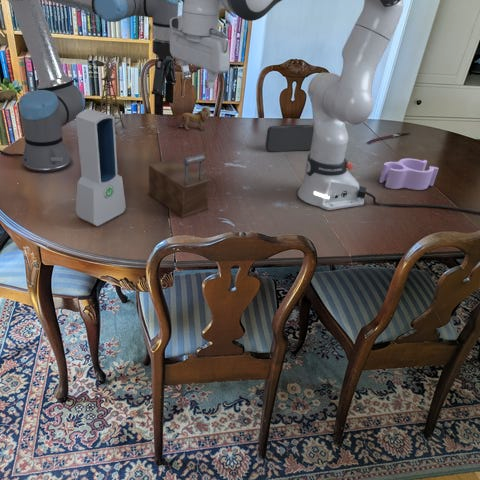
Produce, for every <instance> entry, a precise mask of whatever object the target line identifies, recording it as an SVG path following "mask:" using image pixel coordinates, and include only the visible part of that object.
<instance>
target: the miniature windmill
mask: <svg viewBox="0 0 480 480" xmlns="http://www.w3.org/2000/svg"><path fill="white" fill-rule="evenodd" d="M108 56H109V57H108ZM95 63H96V67H103V68H104V73H105V76H104V77H102V78H100V80H101V81H103V83H104V84H103V85H102V87H103V89H102V96H101V102H100V108H99V112H102V113H105V114H108V111H109V112H111V116H114V120H115V121H116V119H118V121H117V122H115V134H117V126H116V125H118V123H121V127H122V128H125V125H124V124H125V123H124V121H123V120H124V118H123V117H122V113H121V110H120V105H119V102H118V98H117V95H116V91H115V86H114V85H115V84H114V83H113V81H116V80H117V77H114V76H113V75H114V73H115V72H114V71H116V69H115V67H116V65H115V59H114V55H112V52H108V53H107V54H106V56H105V59H104V62H103V61H101V60H98V59H96V60H95ZM111 89H112V91H111ZM112 92H113V94H112ZM104 99H105V100H104ZM113 99H114V100H115V104H116V105H113ZM109 100H110V104H108V101H109ZM104 103H105V105H104V106H103V104H104ZM108 107H111V109H109V108H108ZM114 107H115V108H114ZM102 110H103V111H102ZM116 110H117V111H118V112H117V113H118V115H119V117H117V116H115V111H116Z"/></svg>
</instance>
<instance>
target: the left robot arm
mask: <svg viewBox="0 0 480 480" xmlns="http://www.w3.org/2000/svg"><path fill="white" fill-rule="evenodd" d="M6 1H7V2H8V3H10V6H11V8H12V11H13V14H14V17H15V19H16V21H17V24H18V27H19V29H20V32H21V35H22V37H23V40H24V42H25V46H26V48H27V51H28V54H29V56H30V59H31V62H32V64H33V67H34V70H35V72H36V75H37V77H38V80H39V83H38V85H37V90H36V89H35V90H34V91H28V92H26V93H24V94H23V95H21V96H20V98H19V100H18V105H19V108H18V109H19V110H18V111H19V114H20V119H21V125H22V132H23V137H24V148H23V153H8V152H6V151H3V150H1V149H0V154H2V155H4V156H8V157H22V158H21V159H22V160H21V161H22V166H23V168H24V169H25V170H27V171H29V172H33V173H39V174H46V173H56V172H61V171H63V170H66V169H67V168H69V167H70V166H71V163H72V159H71V155H70V153H69V151H68V150H67V149H68V148H67V147H66V145H65V143H64V140H63V132H62V127H64V126H66V125H68V124H69V123H71V122H73V121H76V116H77V115H78V114H79V113H80V112H82V111H85V107H86V99H85V95H84V94H83V91H82V90H81V89H80V88H79V87H78V86H77V85H75V84H74V82H73V80H72V78H71V77H69V76H68V75H66V73H65V69H64V67H63V64H62V61H61V57H60V55H59V52H58V50H57V46H56V44H55V41H54V39H53V35H52V33H51V30H50V27H49V24H48V20H47V18H46V15H45V13H44V10H43V6H42V4H41V1H40V0H6ZM46 1H48V2H51V3H55V4H58V5H61V6H66V7H69V8H72V9H76V10H78V11H82V12H86V13H89V14H92V15H96V16H98V17H100V18H101V20H103V21H105V22H108V23H117V22H121V21H122V20H125V19H128V18H132V17H143V18H144V17H145V18H151V19H152V32H151V33H152V34H151V37H152V39H153V40H152V53H153V54H154V55H157V56H158V59H157V60H155V61H154V72H153V73H154V74H153V82H152V89H151V95H153V115H156V116H164V103H167V104H174V85H175V84H177V80H176V70H175V62H174V59H175V58H174V57H172V55H171V52H170V32H171V29H172V28H171V27H170V19H171V18H174V17H178V16H179V3H180V2H179V0H46ZM163 92H164V94H163Z"/></svg>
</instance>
